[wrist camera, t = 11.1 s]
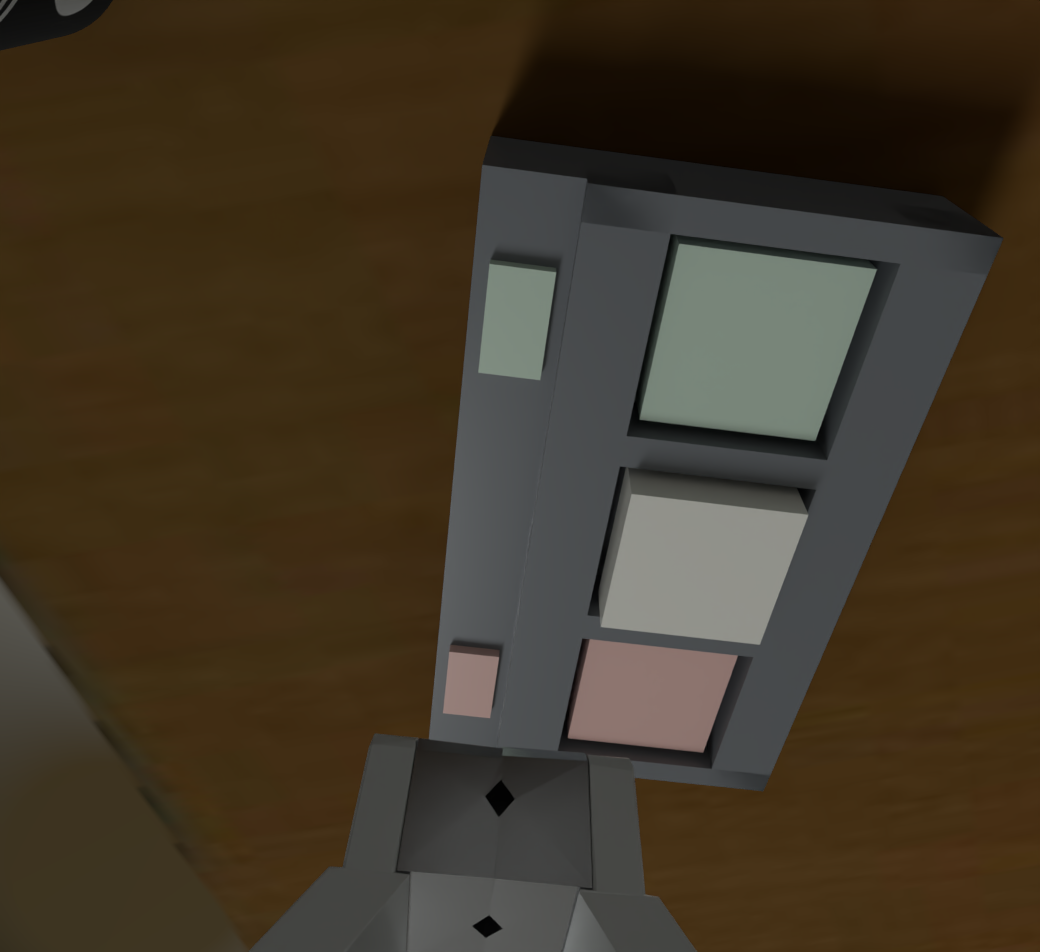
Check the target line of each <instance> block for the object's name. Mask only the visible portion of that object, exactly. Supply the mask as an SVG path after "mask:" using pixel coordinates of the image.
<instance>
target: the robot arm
mask: <svg viewBox="0 0 1040 952" xmlns="http://www.w3.org/2000/svg"><path fill="white" fill-rule="evenodd" d="M248 952H697V951H696V950H695V948H694V947H693V945H692V944H691V943H690V941H689V940H688V938H687V937H686V935H685V934H684V933H683V931H682V930H681V928H680V927H679V925H678V924H677V923H676V921H675V920H674V918H673V917H672V915H671V914H670V913H669V911H668V910H667V908H666V907H665V905H664V904H663V903H662V901H661V900H660V898H659V897H656V896H649V895H645V887H644V876H643V865H642V854H641V843H640V832H639V821H638V810H637V799H636V789H635V778H634V767H633V765H632V763H631V761H630V759H629V758H622V757H610V756H598V755H585V753H578V752H565V751H553V750H541V749H528V748H516V747H503V746H502V748H496V747H488V746H480V745H471V744H463V743H455V742H447V741H438V740H430V739H422V738H419V739H418V738H414V737H404V736H394V735H385V734H374V737H373V739H372V741H371V744H370V746H369V750H368V754H367V759H366V763H365V768H364V773H363V777H362V782H361V786H360V791H359V795H358V800H357V804H356V809H355V813H354V818H353V822H352V827H351V831H350V836H349V840H348V845H347V849H346V854H345V858H344V863H343V867H328V868H327V869H326V870H325V871H324V873H323V874H322V875H321V876H320V877H319V878H318V879H317V880H316V881H315V882H314V883H313V884H312V885H311V886H310V887H309V888H308V889H307V890H306V891H305V893H304V894H303V895H302V896H301V897H300V898H299V899H298V900H297V901H296V902H295V903H294V904H293V905H292V906H291V907H290V908H289V909H288V910H287V911H286V913H285V914H284V915H283V916H282V917H281V918H280V919H279V920H278V921H277V922H276V923H275V924H274V925H273V926H272V927H271V928H270V929H269V930H268V931H267V933H266V934H265V935H264V936H263V937H262V938H261V939H260V940H259V941H258V942H257V943H256V944H255V945H254V946H253V947H252V948H251V949H250V950H249V951H248Z"/></svg>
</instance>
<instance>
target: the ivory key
mask: <svg viewBox="0 0 1040 952" xmlns="http://www.w3.org/2000/svg"><path fill="white" fill-rule="evenodd" d="M807 518H808V512H807V510H806V508H805V506H804V503H803V501H802V499H801V496H800V494H799V492H798V490H797V487H788V486H780V485H772V484H763V483H755V482H746V481H738V480H730V479H721V478H713V477H704V476H696V475H688V474H679V473H671V472H662V471H654V470H646V469H637V468H629V467H626V469H625V474H624V478H623V483H622V487H621V492H620V496H619V501H618V505H617V510H616V514H615V519H614V523H613V528H612V532H611V537H610V541H609V546H608V550H607V554H606V559H605V563H604V568H603V572H602V577H601V581H600V586H599V590H598V596H599V610H600V624H601V627H605V628H614V629H623V630H632V631H641V632H650V633H659V634H668V635H677V636H686V637H695V638H704V639H713V640H722V641H731V642H740V643H749V644H758V645H760V643H761V640H762V638H763V635H764V632H765V630H766V627H767V624H768V622H769V619H770V616H771V614H772V611H773V608H774V606H775V603H776V600H777V598H778V595H779V592H780V590H781V587H782V584H783V582H784V579H785V576H786V574H787V571H788V568H789V566H790V563H791V560H792V558H793V555H794V552H795V550H796V547H797V544H798V542H799V539H800V536H801V534H802V531H803V528H804V526H805V523H806V520H807Z"/></svg>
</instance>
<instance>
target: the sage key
mask: <svg viewBox="0 0 1040 952" xmlns="http://www.w3.org/2000/svg"><path fill="white" fill-rule="evenodd" d="M876 271H877V269H876V268H875V267H874V266H873V265H872V264H871V263H870V262H869V260H868V259H860V258H852V257H845V256H837V255H829V254H822V253H814V252H806V251H798V250H791V249H783V248H775V247H768V246H760V245H752V244H745V243H737V242H729V241H722V240H714V239H706V238H699V237H691V236H683V235H676V234H671V235H670V239H669V244H668V249H667V253H666V258H665V262H664V267H663V271H662V276H661V281H660V285H659V290H658V294H657V299H656V303H655V308H654V313H653V317H652V322H651V326H650V331H649V335H648V340H647V345H646V349H645V354H644V358H643V363H642V367H641V372H640V377H639V381H638V386H637V390H636V395H635V397H636V403H637V409H638V414H639V420H646V421H655V422H663V423H671V424H679V425H688V426H696V427H704V428H712V429H721V430H729V431H737V432H745V433H753V434H762V435H770V436H778V437H786V438H795V439H803V440H811V441H815V440H816V437H817V435H818V432H819V429H820V426H821V424H822V421H823V418H824V415H825V412H826V410H827V407H828V404H829V401H830V399H831V396H832V393H833V390H834V387H835V385H836V382H837V379H838V376H839V374H840V371H841V368H842V365H843V362H844V360H845V357H846V354H847V351H848V349H849V346H850V343H851V340H852V337H853V335H854V332H855V329H856V326H857V324H858V321H859V318H860V315H861V312H862V310H863V307H864V304H865V301H866V299H867V296H868V293H869V290H870V287H871V285H872V282H873V279H874V276H875V274H876Z"/></svg>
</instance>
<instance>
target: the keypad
mask: <svg viewBox="0 0 1040 952" xmlns="http://www.w3.org/2000/svg"><path fill="white" fill-rule="evenodd" d="M671 234H676V235H683V236H691V237H699V238H706V239H714V240H722V241H729V242H737V243H745V244H752V245H760V246H768V247H775V248H783V249H791V250H798V251H806V252H814V253H822V254H829V255H837V256H845V257H852V258H860V259H868V260H869V262H870V263H871V264H872V265H873V266H874V267H875V268H876V269H877V271H876V274H875V276H874V279H873V282H872V285H871V287H870V290H869V293H868V296H867V299H866V301H865V304H864V307H863V310H862V312H861V315H860V318H859V321H858V324H857V326H856V329H855V332H854V335H853V337H852V340H851V343H850V346H849V349H848V351H847V354H846V357H845V360H844V362H843V365H842V368H841V371H840V374H839V376H838V379H837V382H836V385H835V387H834V390H833V393H832V396H831V399H830V401H829V404H828V407H827V410H826V412H825V415H824V418H823V421H822V424H821V426H820V429H819V432H818V435H817V437H816V440H815V441H811V440H803V439H795V438H786V437H778V436H770V435H762V434H753V433H745V432H737V431H729V430H721V429H712V428H704V427H696V426H688V425H679V424H671V423H663V422H655V421H646V420H639V414H638V409H637V403H636V397H635V395H636V390H637V386H638V381H639V377H640V372H641V367H642V363H643V358H644V354H645V349H646V345H647V340H648V335H649V331H650V326H651V322H652V317H653V313H654V308H655V303H656V299H657V294H658V290H659V285H660V281H661V276H662V271H663V267H664V262H665V258H666V253H667V249H668V244H669V239H670V235H671ZM1002 240H1003V238H1002V237H1001V236H1000V235H998V234H997V233H995V232H994V231H992V230H991V229H989V228H988V227H987V226H985V225H984V224H982V223H981V222H979V221H978V220H976V219H975V218H974V217H972V216H971V215H969V214H968V213H966V212H965V211H963V210H962V209H961V208H959V207H958V206H956V205H955V204H953V203H952V202H950V201H949V200H948V199H946V198H945V197H943V196H938V195H930V194H923V193H916V192H908V191H901V190H893V189H886V188H878V187H871V186H863V185H856V184H848V183H841V182H833V181H826V180H818V179H811V178H803V177H796V176H788V175H781V174H773V173H766V172H758V171H751V170H744V169H736V168H729V167H721V166H714V165H706V164H699V163H691V162H684V161H676V160H669V159H661V158H654V157H646V156H639V155H631V154H624V153H616V152H609V151H601V150H594V149H586V148H579V147H571V146H564V145H557V144H549V143H542V142H534V141H527V140H519V139H512V138H504V137H497V136H491V137H490V140H489V144H488V147H487V151H486V154H485V158H484V161H483V165H482V175H481V186H480V196H479V207H478V218H477V229H476V239H475V250H474V261H473V272H472V282H471V293H470V304H469V315H468V325H467V336H466V347H465V358H464V368H463V379H462V390H461V401H460V411H459V422H458V433H457V444H456V454H455V465H454V476H453V487H452V498H451V508H450V519H449V530H448V541H447V551H446V562H445V573H444V584H443V594H442V605H441V616H440V627H439V637H438V648H437V659H436V670H435V680H434V691H433V702H432V713H431V723H430V734H429V739H430V740H438V741H447V742H455V743H463V744H471V745H480V746H488V747H496V748H502V746H503V747H516V748H528V749H541V750H553V751H565V752H578V753H585V755H598V756H610V757H622V758H629V759H630V761H631V763H632V765H633V767H634V778H643V779H653V780H662V781H672V782H681V783H691V784H700V785H710V786H720V787H729V788H739V789H748V790H758V791H763V790H764V788H765V786H766V784H767V781H768V779H769V777H770V774H771V772H772V770H773V767H774V765H775V763H776V761H777V758H778V756H779V754H780V751H781V749H782V747H783V744H784V742H785V740H786V738H787V735H788V733H789V731H790V728H791V726H792V724H793V721H794V719H795V717H796V715H797V712H798V710H799V708H800V705H801V703H802V701H803V698H804V696H805V694H806V691H807V689H808V687H809V685H810V682H811V680H812V678H813V675H814V673H815V671H816V668H817V666H818V664H819V662H820V659H821V657H822V655H823V652H824V650H825V648H826V645H827V643H828V641H829V639H830V636H831V634H832V632H833V629H834V627H835V625H836V622H837V620H838V618H839V615H840V613H841V611H842V609H843V606H844V604H845V602H846V599H847V597H848V595H849V592H850V590H851V588H852V586H853V583H854V581H855V579H856V576H857V574H858V572H859V569H860V567H861V565H862V563H863V560H864V558H865V556H866V553H867V551H868V549H869V546H870V544H871V542H872V539H873V537H874V535H875V533H876V530H877V528H878V526H879V523H880V521H881V519H882V516H883V514H884V512H885V510H886V507H887V505H888V503H889V500H890V498H891V496H892V493H893V491H894V489H895V487H896V484H897V482H898V480H899V477H900V475H901V473H902V470H903V468H904V466H905V463H906V461H907V459H908V457H909V454H910V452H911V450H912V447H913V445H914V443H915V440H916V438H917V436H918V434H919V431H920V429H921V427H922V424H923V422H924V420H925V417H926V415H927V413H928V411H929V408H930V406H931V404H932V401H933V399H934V397H935V394H936V392H937V390H938V387H939V385H940V383H941V381H942V378H943V376H944V374H945V371H946V369H947V367H948V364H949V362H950V360H951V358H952V355H953V353H954V351H955V348H956V346H957V344H958V341H959V339H960V337H961V335H962V332H963V330H964V328H965V325H966V323H967V321H968V318H969V316H970V314H971V312H972V309H973V307H974V305H975V302H976V300H977V298H978V295H979V293H980V291H981V288H982V286H983V284H984V282H985V279H986V277H987V275H988V272H989V270H990V268H991V265H992V263H993V261H994V259H995V256H996V254H997V252H998V249H999V247H1000V245H1001V242H1002ZM626 467H629V468H637V469H646V470H654V471H662V472H671V473H679V474H688V475H696V476H704V477H713V478H721V479H730V480H738V481H746V482H755V483H763V484H772V485H780V486H788V487H797V490H798V492H799V494H800V496H801V499H802V501H803V503H804V506H805V508H806V510H807V512H808V518H807V520H806V523H805V526H804V528H803V531H802V534H801V536H800V539H799V542H798V544H797V547H796V550H795V552H794V555H793V558H792V560H791V563H790V566H789V568H788V571H787V574H786V576H785V579H784V582H783V584H782V587H781V590H780V592H779V595H778V598H777V600H776V603H775V606H774V608H773V611H772V614H771V616H770V619H769V622H768V624H767V627H766V630H765V632H764V635H763V638H762V640H761V643H760V645H758V644H749V643H740V642H731V641H722V640H713V639H704V638H695V637H686V636H677V635H668V634H659V633H650V632H641V631H632V630H623V629H614V628H605V627H601V624H600V610H599V596H598V590H599V586H600V581H601V577H602V572H603V568H604V563H605V559H606V554H607V550H608V546H609V541H610V537H611V532H612V528H613V523H614V519H615V514H616V510H617V505H618V501H619V496H620V492H621V487H622V483H623V478H624V474H625V469H626ZM582 638H584V639H593V640H602V641H611V642H620V643H629V644H638V645H647V646H656V647H665V648H674V649H683V650H692V651H701V652H710V653H719V654H728V655H737V656H738V657H737V660H736V663H735V665H734V668H733V671H732V674H731V677H730V679H729V682H728V685H727V688H726V690H725V693H724V696H723V699H722V702H721V704H720V707H719V710H718V713H717V715H716V718H715V721H714V724H713V727H712V729H711V732H710V735H709V738H708V740H707V743H706V746H705V749H704V752H703V753H702V752H693V751H683V750H674V749H664V748H655V747H646V746H636V745H627V744H617V743H608V742H598V741H589V740H580V739H570V738H568V730H567V706H568V702H569V697H570V692H571V688H572V683H573V679H574V674H575V670H576V665H577V660H578V656H579V651H580V647H581V642H582Z"/></svg>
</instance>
